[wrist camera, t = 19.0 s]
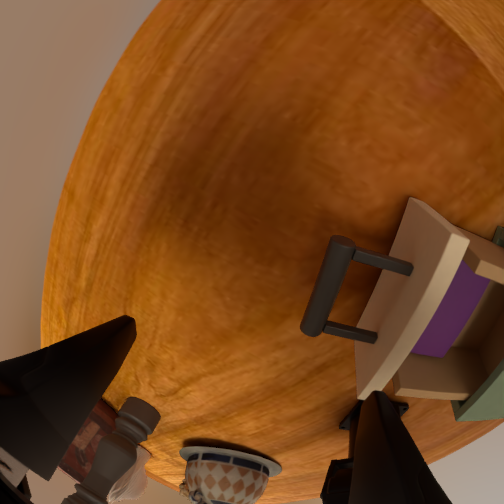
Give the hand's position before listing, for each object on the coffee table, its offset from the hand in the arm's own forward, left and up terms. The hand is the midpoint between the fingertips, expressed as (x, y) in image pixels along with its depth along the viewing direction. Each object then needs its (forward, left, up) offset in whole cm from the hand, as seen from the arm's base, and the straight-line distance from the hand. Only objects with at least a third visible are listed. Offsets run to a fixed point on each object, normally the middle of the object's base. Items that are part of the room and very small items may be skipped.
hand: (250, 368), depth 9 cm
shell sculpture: (-59, +19, -12) cm, 63 cm away
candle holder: (-34, +15, -12) cm, 39 cm away
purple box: (0, -12, -10) cm, 16 cm away
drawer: (0, -11, -11) cm, 16 cm away
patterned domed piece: (-43, -1, -12) cm, 45 cm away
